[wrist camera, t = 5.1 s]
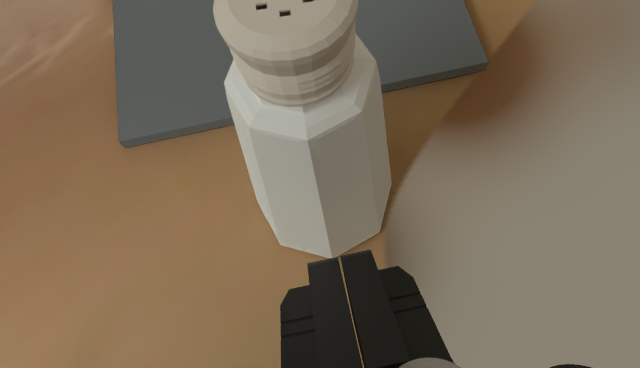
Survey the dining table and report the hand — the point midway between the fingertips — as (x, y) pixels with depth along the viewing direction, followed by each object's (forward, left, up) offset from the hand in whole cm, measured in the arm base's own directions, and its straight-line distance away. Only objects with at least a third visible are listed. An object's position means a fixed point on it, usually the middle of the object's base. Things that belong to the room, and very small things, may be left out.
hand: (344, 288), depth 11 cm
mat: (-13, +8, -6) cm, 16 cm away
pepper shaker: (-4, +3, -7) cm, 8 cm away
